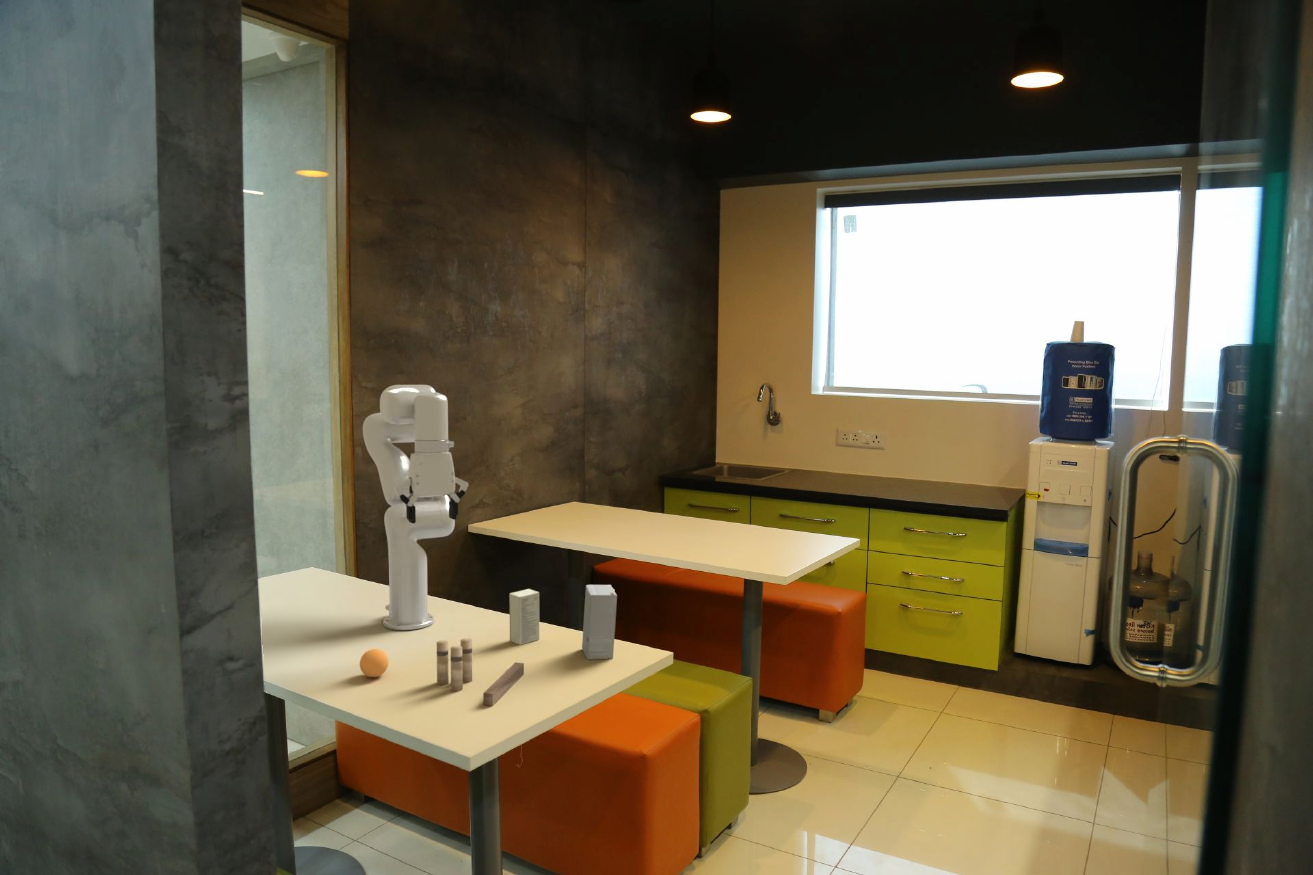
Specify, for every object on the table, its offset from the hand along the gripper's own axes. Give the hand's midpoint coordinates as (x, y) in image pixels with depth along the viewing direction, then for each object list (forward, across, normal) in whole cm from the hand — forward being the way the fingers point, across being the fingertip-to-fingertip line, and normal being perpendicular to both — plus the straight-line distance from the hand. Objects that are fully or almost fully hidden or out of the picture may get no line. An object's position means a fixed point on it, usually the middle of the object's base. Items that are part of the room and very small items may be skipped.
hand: (432, 520), depth 204 cm
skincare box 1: (+32, -22, +3) cm, 39 cm away
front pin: (+32, +5, +19) cm, 37 cm away
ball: (+29, +16, +8) cm, 34 cm away
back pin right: (+32, +3, +24) cm, 40 cm away
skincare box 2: (+32, -33, +20) cm, 50 cm away
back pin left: (+32, 0, +20) cm, 38 cm away
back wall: (+32, -5, +29) cm, 44 cm away
